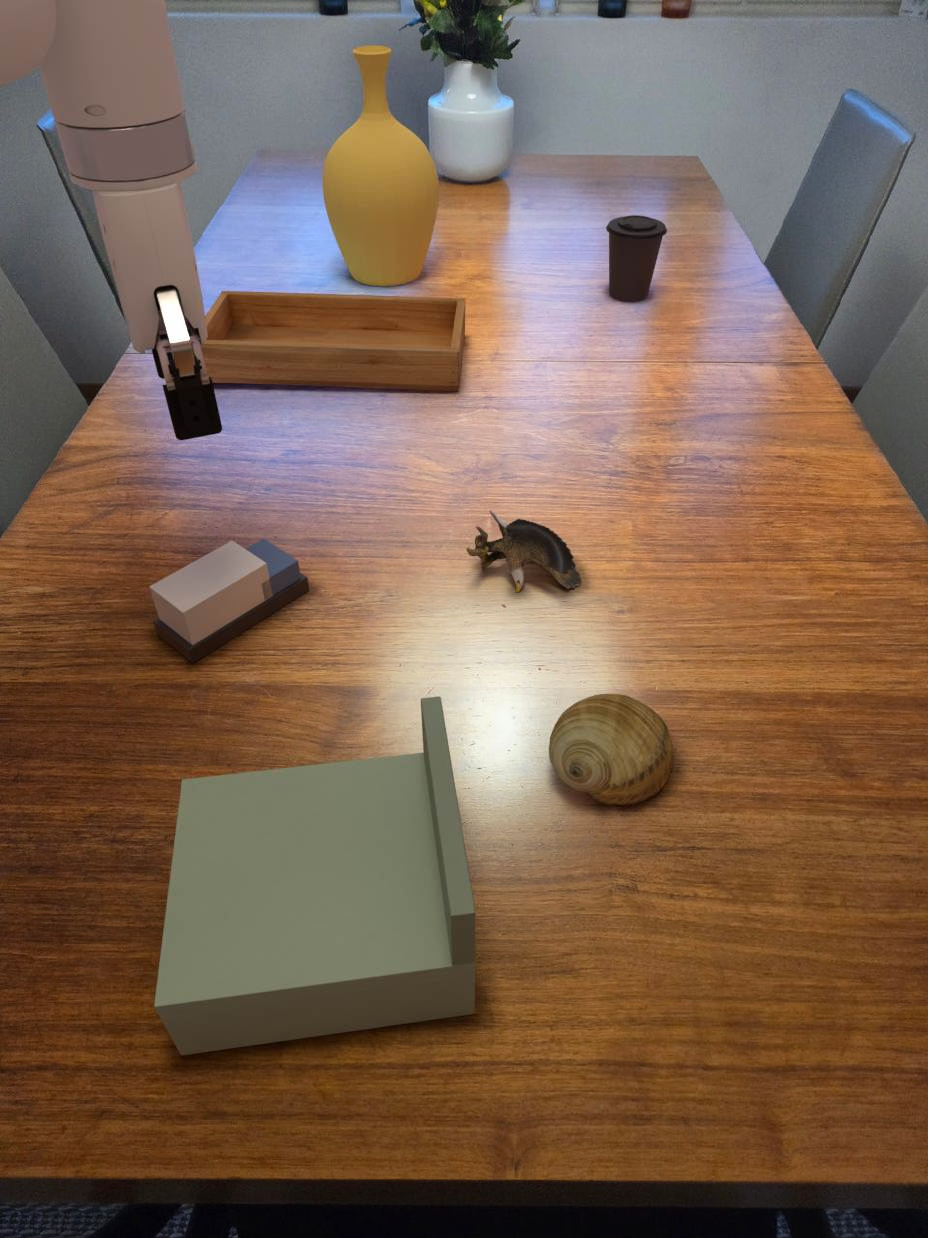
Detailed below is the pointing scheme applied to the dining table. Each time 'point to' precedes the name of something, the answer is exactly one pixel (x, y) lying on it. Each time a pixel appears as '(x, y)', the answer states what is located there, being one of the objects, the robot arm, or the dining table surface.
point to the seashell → (612, 749)
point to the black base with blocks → (224, 596)
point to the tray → (335, 340)
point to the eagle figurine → (528, 551)
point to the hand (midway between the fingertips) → (189, 403)
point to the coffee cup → (633, 255)
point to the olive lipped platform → (318, 901)
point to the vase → (380, 187)
